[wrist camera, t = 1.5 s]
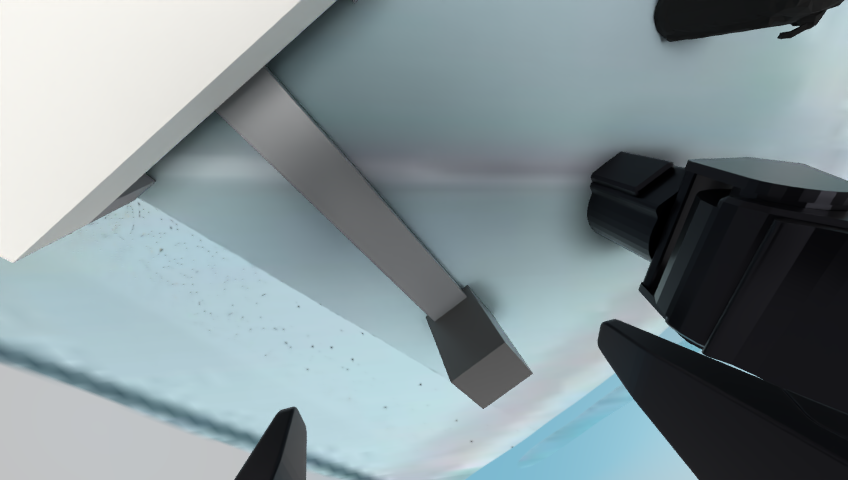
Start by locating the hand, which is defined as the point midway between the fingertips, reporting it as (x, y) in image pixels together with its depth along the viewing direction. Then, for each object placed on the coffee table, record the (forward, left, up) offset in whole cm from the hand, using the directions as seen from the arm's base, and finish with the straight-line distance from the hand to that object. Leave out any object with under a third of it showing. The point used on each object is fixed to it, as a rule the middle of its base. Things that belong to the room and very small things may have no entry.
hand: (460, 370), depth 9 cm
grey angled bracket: (-10, +1, -12) cm, 16 cm away
